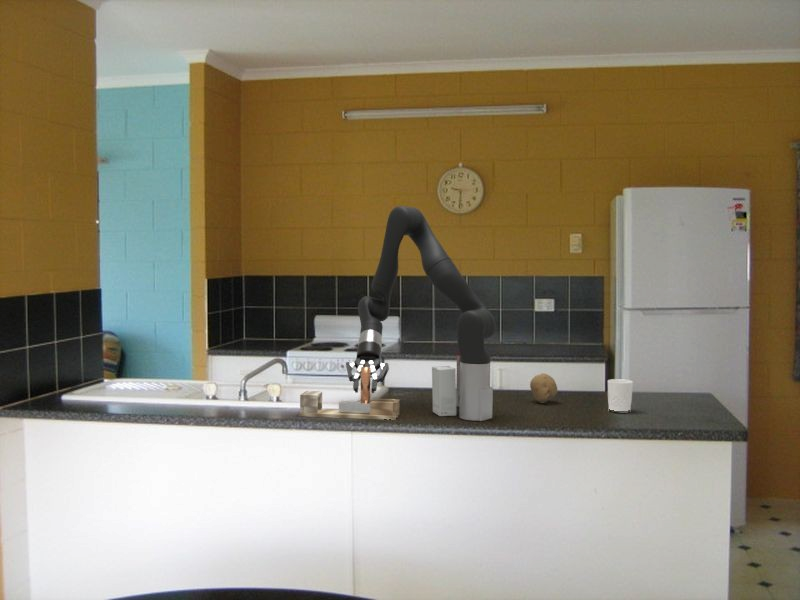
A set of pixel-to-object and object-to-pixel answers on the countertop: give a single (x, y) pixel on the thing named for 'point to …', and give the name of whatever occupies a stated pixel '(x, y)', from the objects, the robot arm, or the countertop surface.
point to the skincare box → (444, 390)
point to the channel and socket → (313, 408)
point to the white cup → (620, 394)
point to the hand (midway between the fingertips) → (364, 391)
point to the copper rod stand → (365, 396)
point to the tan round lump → (543, 387)
